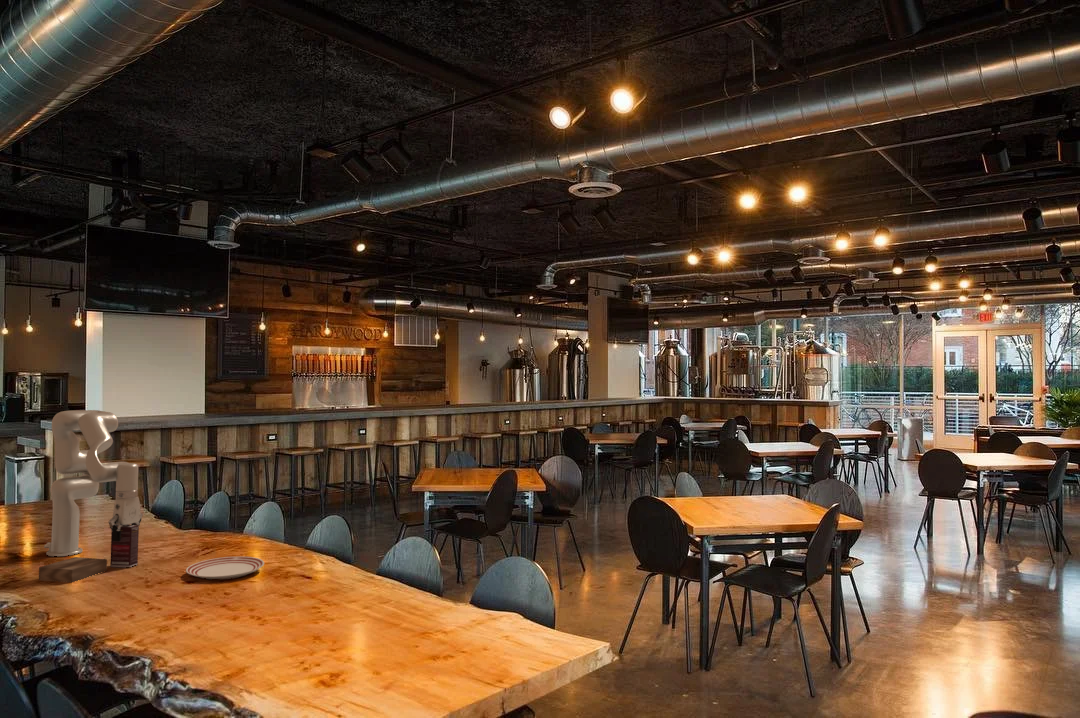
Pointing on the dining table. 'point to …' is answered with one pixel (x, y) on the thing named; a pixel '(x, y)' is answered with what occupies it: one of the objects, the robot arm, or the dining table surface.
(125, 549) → the supplement box
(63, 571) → the walnut block
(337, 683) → the dining table surface
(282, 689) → the dining table surface
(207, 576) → the dinner plate
